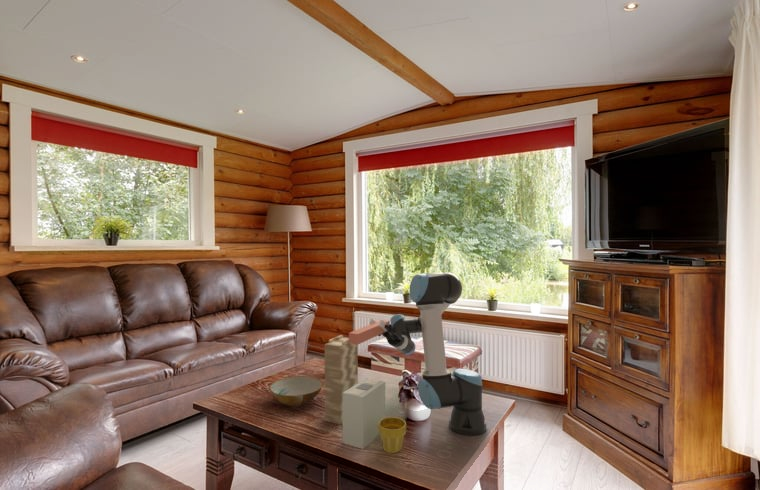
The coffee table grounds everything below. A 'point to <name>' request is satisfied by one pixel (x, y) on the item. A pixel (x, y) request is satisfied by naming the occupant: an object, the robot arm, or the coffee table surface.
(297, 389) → the bowl
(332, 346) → the birch stand
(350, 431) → the pale green paneled block
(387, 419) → the plant pot
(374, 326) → the coral square-faced block
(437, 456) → the coffee table surface
